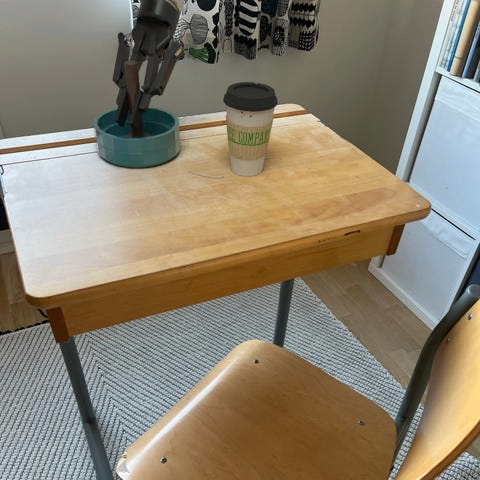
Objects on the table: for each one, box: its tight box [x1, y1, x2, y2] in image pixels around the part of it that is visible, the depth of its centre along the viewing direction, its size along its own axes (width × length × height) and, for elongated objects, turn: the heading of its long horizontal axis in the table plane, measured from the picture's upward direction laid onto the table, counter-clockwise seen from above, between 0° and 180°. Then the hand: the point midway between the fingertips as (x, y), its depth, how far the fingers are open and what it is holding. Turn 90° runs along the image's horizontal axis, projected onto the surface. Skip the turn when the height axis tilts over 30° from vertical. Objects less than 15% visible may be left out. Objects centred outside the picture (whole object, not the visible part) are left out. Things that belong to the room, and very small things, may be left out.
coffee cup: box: [222, 81, 279, 177], centre depth 96 cm, size 10×10×15 cm
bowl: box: [92, 106, 181, 169], centre depth 103 cm, size 17×17×6 cm
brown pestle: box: [124, 60, 152, 138], centre depth 99 cm, size 6×6×16 cm
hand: (126, 124), depth 98 cm, fingers closed on brown pestle, 2 cm apart
